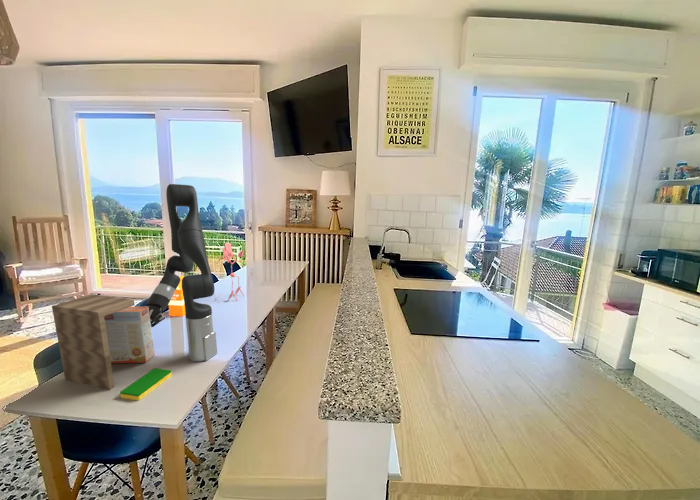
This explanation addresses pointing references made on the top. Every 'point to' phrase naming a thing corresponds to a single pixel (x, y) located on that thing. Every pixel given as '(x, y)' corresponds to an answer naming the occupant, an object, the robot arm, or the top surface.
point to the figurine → (227, 256)
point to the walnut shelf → (86, 338)
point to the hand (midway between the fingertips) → (138, 336)
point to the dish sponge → (145, 384)
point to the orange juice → (177, 301)
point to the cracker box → (129, 335)
